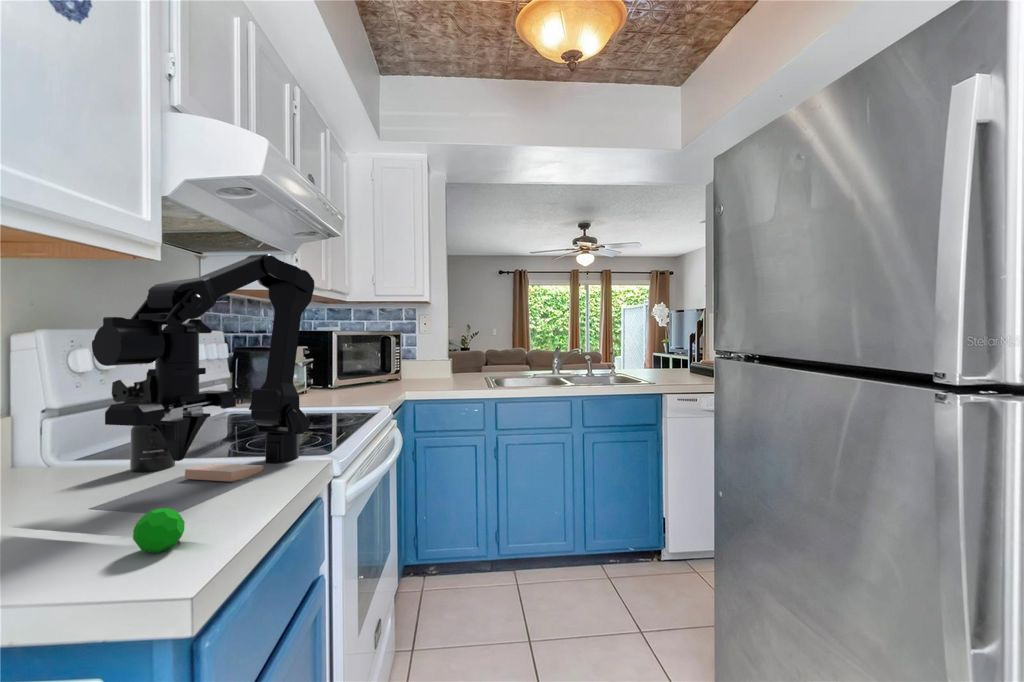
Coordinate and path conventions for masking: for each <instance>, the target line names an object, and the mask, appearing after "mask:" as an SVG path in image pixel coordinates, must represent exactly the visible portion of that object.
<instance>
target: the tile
mask: <svg viewBox="0 0 1024 682" xmlns="http://www.w3.org/2000/svg"><path fill="white" fill-rule="evenodd" d="M262 471H264V465H262V464H261V465H260V464H259V465H258V464H257V465H256V464H240V463H239V464H238V463H222V462H221V463H215V464H209V465H203V466H198V467H192V468H191V467H190V468H186V469H185V470H184V476H185V477H184V479H196V480H213V481H230V482H231V481H235V480H244V479H245V478H248V477H251V476H252V475H253V476H254V475H255V474H257V473H259V472H262Z"/></svg>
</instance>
